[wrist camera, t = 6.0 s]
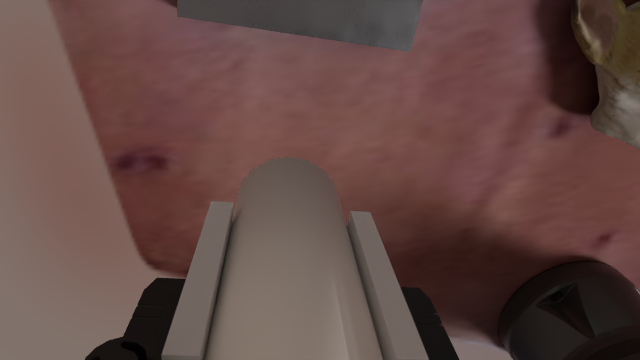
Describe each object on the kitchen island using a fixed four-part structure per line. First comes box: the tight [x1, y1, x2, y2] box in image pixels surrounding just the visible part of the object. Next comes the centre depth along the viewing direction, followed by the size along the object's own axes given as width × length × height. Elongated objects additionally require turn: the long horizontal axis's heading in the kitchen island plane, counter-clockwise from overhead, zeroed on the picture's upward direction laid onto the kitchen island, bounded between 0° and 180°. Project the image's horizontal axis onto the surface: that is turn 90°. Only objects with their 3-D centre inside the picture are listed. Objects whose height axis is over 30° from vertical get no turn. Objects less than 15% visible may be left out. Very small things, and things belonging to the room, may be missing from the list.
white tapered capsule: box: [204, 157, 383, 360], centre depth 11 cm, size 4×4×14 cm
